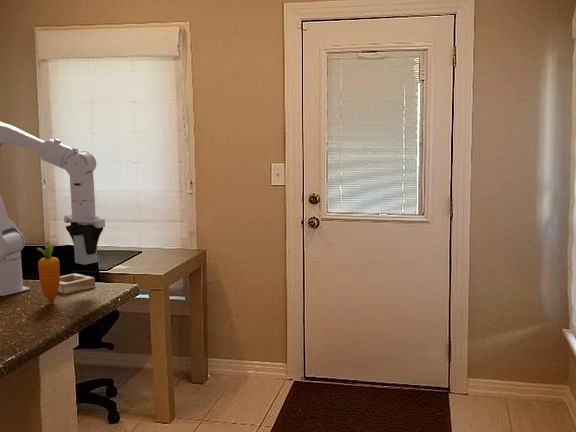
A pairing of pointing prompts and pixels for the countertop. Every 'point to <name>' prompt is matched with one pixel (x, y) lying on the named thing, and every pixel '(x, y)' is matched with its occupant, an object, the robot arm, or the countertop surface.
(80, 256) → the slate square peg
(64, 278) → the birch well block
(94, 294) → the countertop surface
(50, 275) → the carrot
